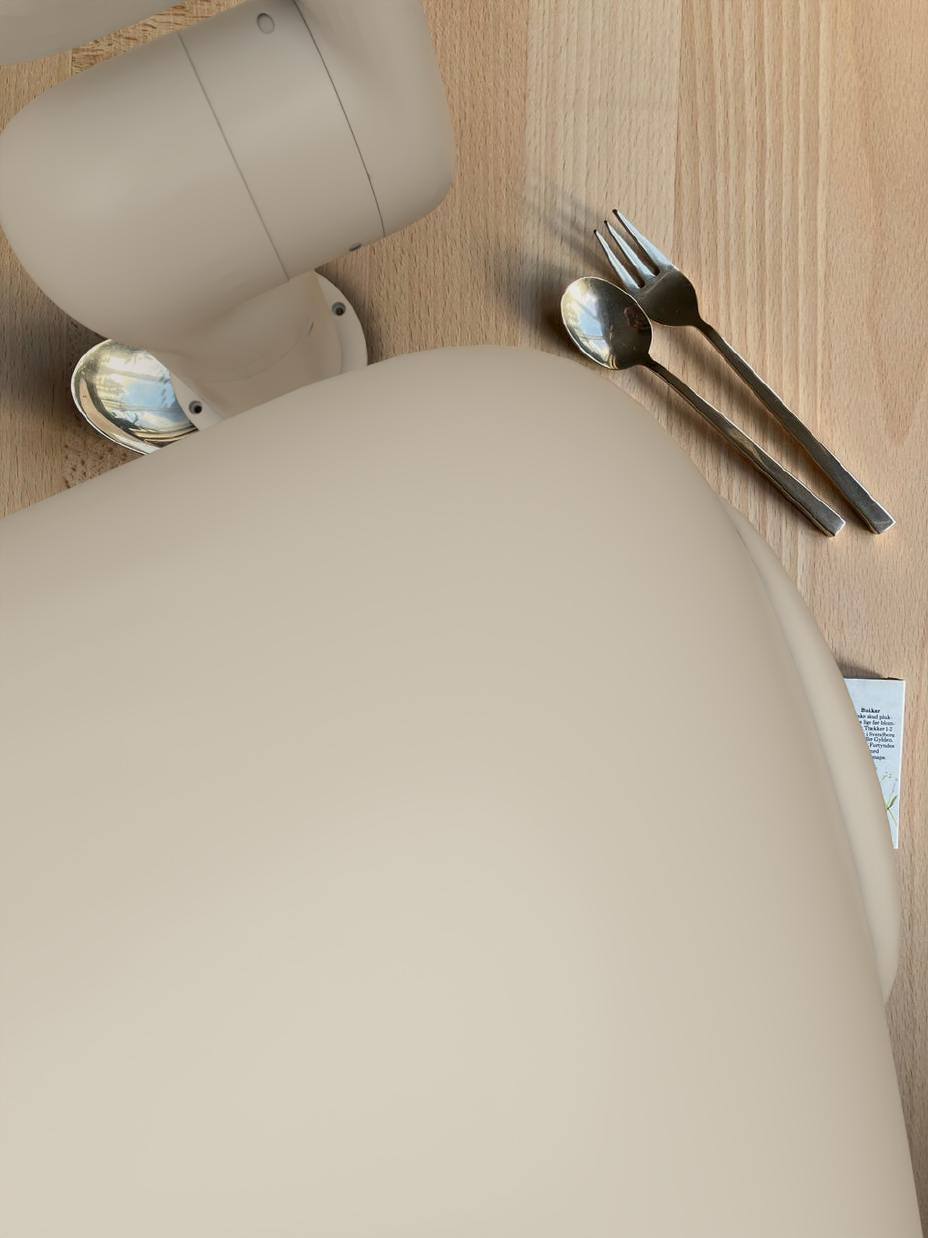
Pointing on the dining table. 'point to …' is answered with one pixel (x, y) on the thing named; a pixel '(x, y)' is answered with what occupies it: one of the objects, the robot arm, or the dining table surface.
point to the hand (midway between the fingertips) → (462, 923)
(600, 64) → the dining table surface
